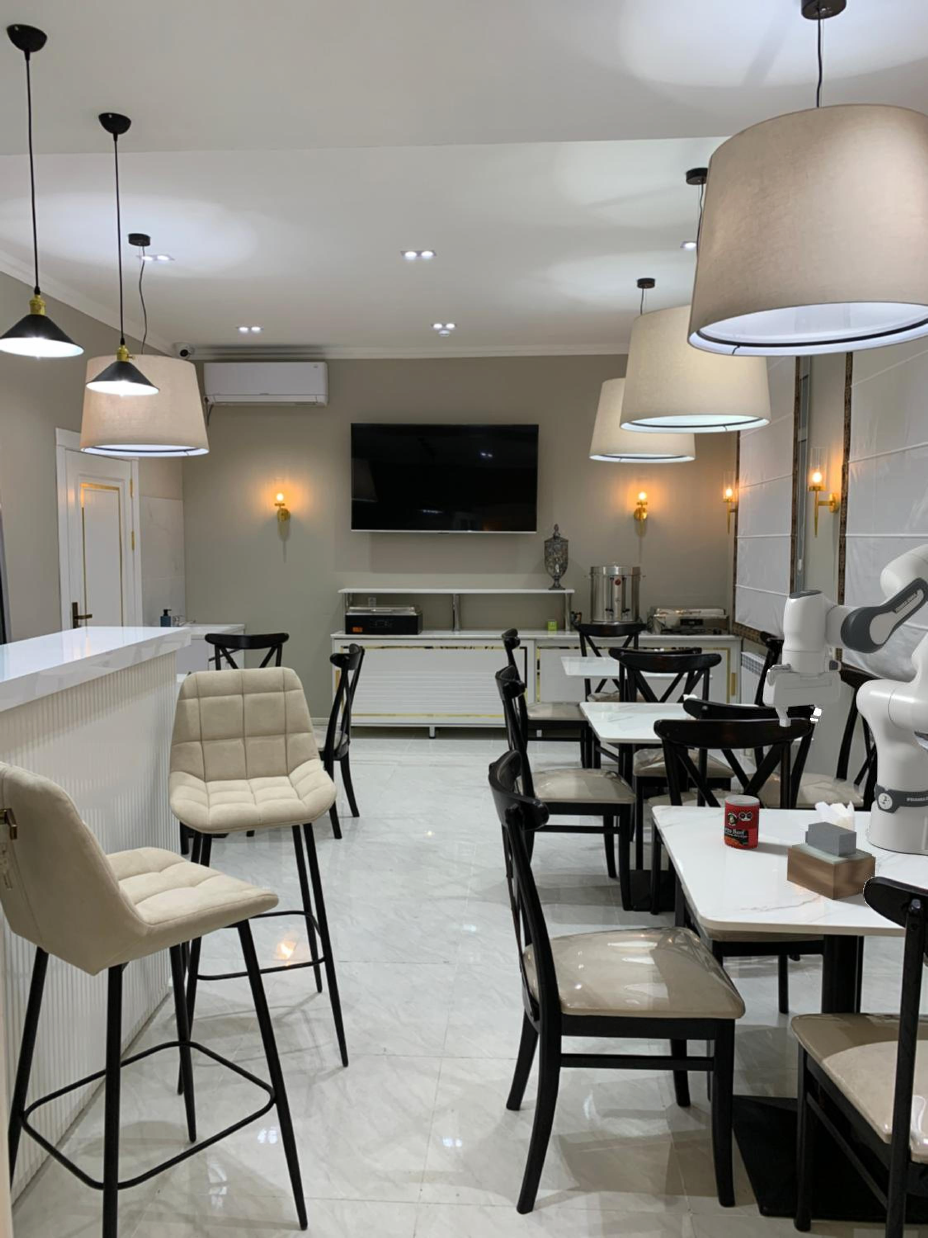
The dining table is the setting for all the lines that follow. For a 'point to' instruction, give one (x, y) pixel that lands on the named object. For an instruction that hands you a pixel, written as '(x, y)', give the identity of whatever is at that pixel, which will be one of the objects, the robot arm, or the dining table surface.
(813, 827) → the block
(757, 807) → the canned food
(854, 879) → the stand
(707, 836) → the dining table surface
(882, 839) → the robot arm
